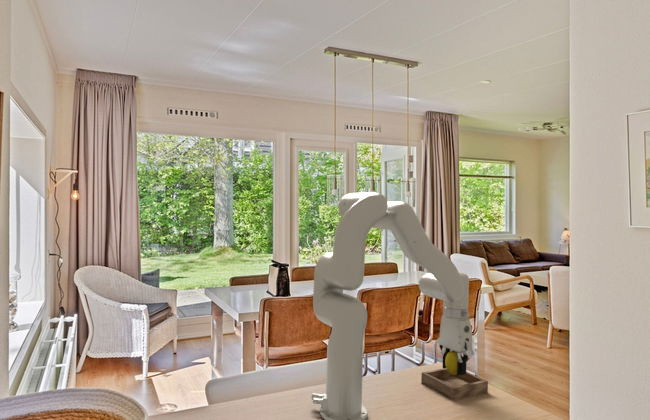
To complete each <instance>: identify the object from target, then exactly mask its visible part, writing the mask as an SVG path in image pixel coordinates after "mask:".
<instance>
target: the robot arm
mask: <svg viewBox="0 0 650 420" xmlns="http://www.w3.org/2000/svg"><path fill="white" fill-rule="evenodd" d="M337 206H338V207H337V208H338V214H339V215H340V217H341V219H340V220H339V222H338V224H337V226H336V229H335V232H334V239H333V249H332V251H329V252H326V253H324V254H323V255H321V256H320V257H319V259H318V260H317V262H316V265H315V268H314V274H313V276H314V277H313V291H312V293H313V294H312V295H313V296H312V299H313V300H312V307H313V312H314V316H315V317H316V319H317V320H318V321H320V322H321V323H323V324H325V325H328V326H329V327H331V331H330V332H331V333H330V335H329V338H328V340H327V348H326V349H327V351H326V384H325V385H326V386H325V387H326V390H325V391H326V392H324V393H321V394H320V393H319V392H318V393H317V392H312V394H311V401H312V403H313V404H315V405H320V408H319V415H320V417H321V418H322V419H323V420H366V419H367V418H368V410H367V408H366V407H365V406H364V405H363V403H362V402H363V372H364V371H363V367H364V365H363V362H364V361H363V360H364V338H365V332H366V327H367V324H368V323H367V322H368V310H367V308H366V305H365V304H364V303H363V302H362V300H360V299H359V298H357V297H355V296H353V295H349V294H347V293H344V291H349V292H350V291H355V290H357V289H359V288H360V287H361V286H362V284H363V282H364V277H365V260H366V259H365V257H366V243H367V238H368V235H369V233H370V231H371V230H372V229H379V230H386V231H387V230H388V231H390V232H391V234H392V235H393V237H394V239H395V241H396V243H397V244H398V246H399V248H400V250H401V252H402V253H403V256H405V258H407V259H409V261H411V262H412V263H414V264H417V266H420V267H422V268H423V269H425V270H426V271H428V272H427V273H425V274H423V275H422V276H421V277H420V279H419V281H418V288H419V290H420V292H421V294H423V295H425V297H426V296H427V297H428V298H432V299H436V300H437V299H438V300H441V301H443V303H442V304H443V305H442V307H443V308H442V315H441V320H440V324H439V325H440V327H439V337H438V338H437V339H436V342H437V345H438V346H439V349H440V351H441V353H440V354H441V355H442V369H443V368H444V369H445V368H446V365H445V359H446V355H447V354H448V352H450V351H452V350H453V351H456V352H457V354H458V359H459V362H457V375H464V374H466V372H467V362H469V360H470V359H471V358H473V356H475V351H474V349H473V332H472V331H473V330H472V323H471V319H470V318H469V317H470V313H469V301H470V300H469V298H470V297H469V294H470V293H469V292H470V287H469V286H470V277H469V275H467V274H466V273H464V272H459V270H458V268H457V267H456V265H455V264H454V262H453V261H452V260H451V259H450V258H449V257H448V256H447V255H446V254H445V253H444V252H443V251H442V250H441V249H439V248H438V247H437V246H436V245H435V244H433V243H432V241H431V240H430V239H429V236H428V235H427V233H426V230H425V228H424V227H423V225H422V223H421V221H420V220H419V218H418V216H417V213H416V212H415V210H414V207H412V206H411V205H410V204H409V203H408V202H405V201H396V200H395V201H393V200H390V201H388V199H387V197H386V196H385V195H384V194H382V193H380V192H375V191H365V192H364V191H361V192H350V193H346V194H345V195H343V196H342V197H341V198H340V200H339V202H338V205H337Z"/></svg>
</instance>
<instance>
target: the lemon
mask: <svg viewBox="0 0 650 420" xmlns="http://www.w3.org/2000/svg"><path fill="white" fill-rule="evenodd" d="M457 362H459V359H458V354H457V352H456V351H453V350H451V351H450V352H448V354H447V355H446V359H445V365H446V368H447V370H448V371H449V372H450V373H452V374H453V375H456V374H457Z"/></svg>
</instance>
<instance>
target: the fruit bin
mask: <svg viewBox="0 0 650 420" xmlns="http://www.w3.org/2000/svg"><path fill="white" fill-rule="evenodd" d="M420 382H421V384H422V385H424V386H426V387H427V388H428V389H431V390H433V391H434V392H436V393H438V394H440V395H442V396H444V397H445V398H447V399H449V400H451V401H459V400H461V399H466V398H470V397H476V396H479V395H483V394H487V393H489V391H488V390H489V388H488V387H489V380H486V379H484V378H482V377H480V376H477V375H476V374H473V373H470V372H468V371H466V374H464V375H457V374H456V375H453V374H452V373H450V372H449V371H448V370H447V368H445V369H444V368H443V367H442V368H439V369H433V370H427V371H422V372H421V381H420Z"/></svg>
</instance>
